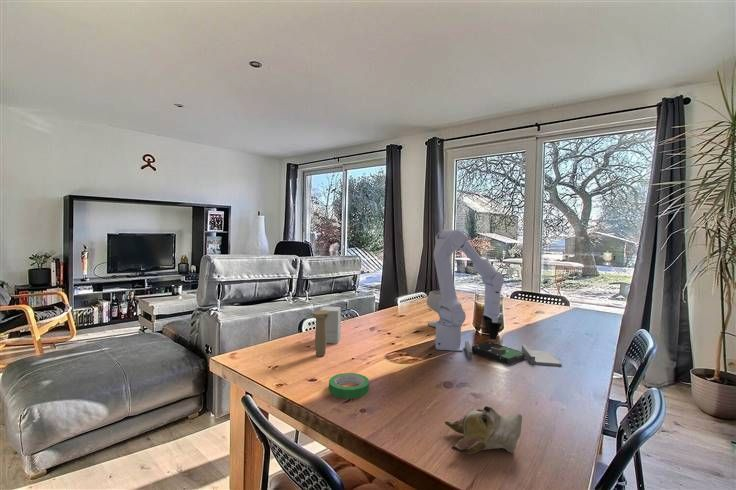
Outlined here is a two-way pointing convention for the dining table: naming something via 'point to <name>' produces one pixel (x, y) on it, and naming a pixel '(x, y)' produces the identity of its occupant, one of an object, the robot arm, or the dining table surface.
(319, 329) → the handle
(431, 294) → the chalice
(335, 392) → the tape roll
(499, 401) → the dining table surface
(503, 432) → the ceramic sculpture
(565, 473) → the dining table surface
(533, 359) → the grey flat panel
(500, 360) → the disk drive
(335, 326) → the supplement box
